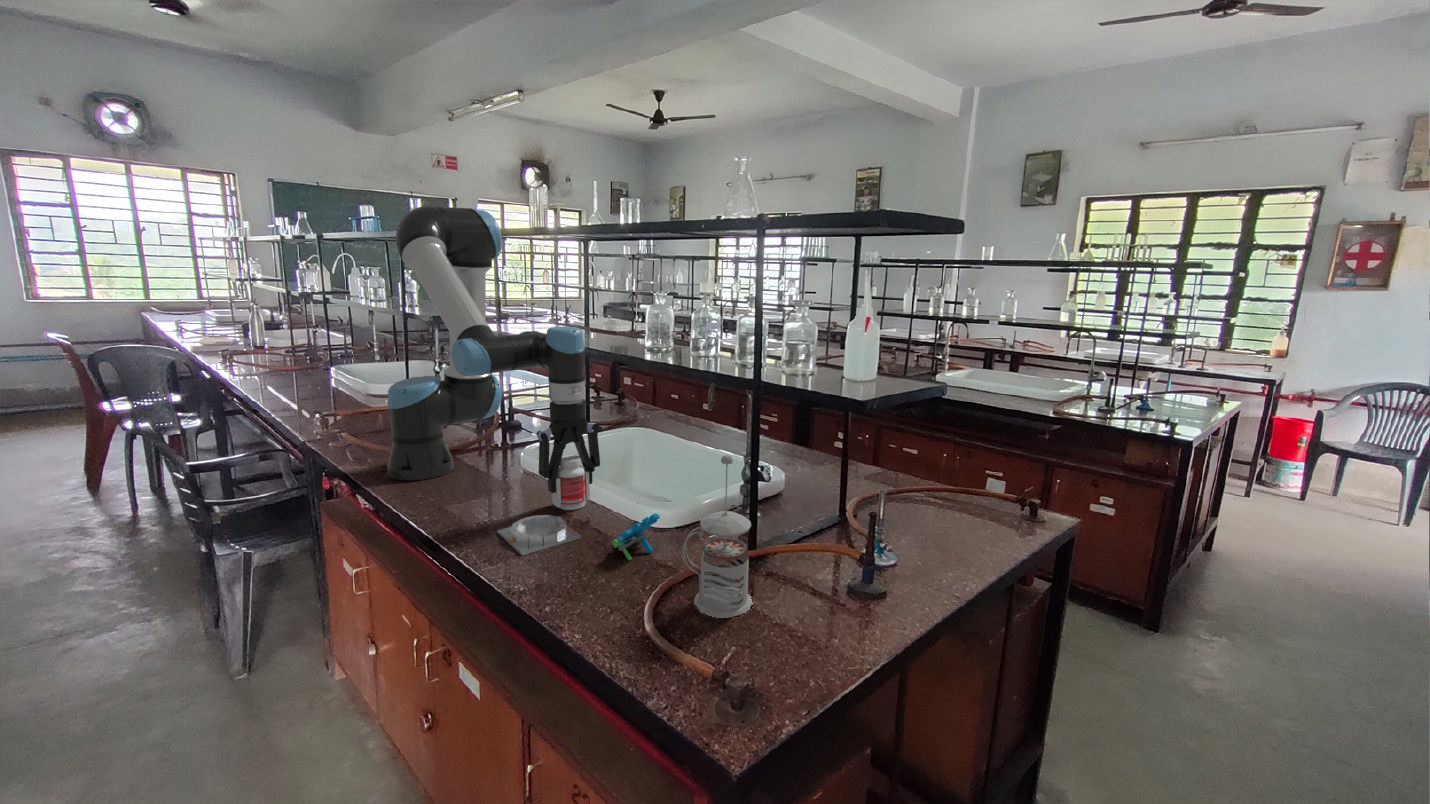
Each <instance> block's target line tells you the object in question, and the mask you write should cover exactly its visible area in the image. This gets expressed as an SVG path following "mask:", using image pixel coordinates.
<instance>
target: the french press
mask: <svg viewBox="0 0 1430 804" xmlns="http://www.w3.org/2000/svg"><path fill="white" fill-rule="evenodd" d="M720 462H721V464H723V465H726V467H725V468H726V469H725V498H724V499H725V502H724V504H725V506H724V507H725V508H724V510H722V511H717V512H712V513H709V514H707V515H705V516H703V517H702V519H700V521H699V523H700V525H699V526H698V527H696V528H694V529H692V530H691V531H690V532H689V533H688V535H687V536H686V538H685V540H684V543H683V545H682V558H683V562H684V564H685V565H686V567H688V568H689V570H690V571H692V572H693V573H694V574H696V575H698V592H697V594H696V595H695V597H694V598H695V599H694V598H693V606H694V605H696V606H697V608H698V609H699V611H700V612H699V611H698V612H699V613H700V614H703V613H705V614H706V615H708V616H707V617H709V616H712V617H711V618H714V617H716V618H715V619H718V618H729V617H733V616H737V615H740V614H741V615H742V613H746V612H747V611H748V610H750V607H751V605H753V603H754V601H753V602H752V599H751V598H753V597H752V596H751V595H750V594H749V592H748V591H749V566H750V565H749V564H750V563H749V562H750V560H749V559H750V558H749V557H750V556H749V553H748V552H747V551H748V545H747V544H746V543H745V542H744V541H742V540H740V539H737V538H733V537H737V536H741V535H743V534H745V533H747V532H748V531H749V530H750V529H751V528H752V523H751V520H750V519H748V517H746V516H744V515H743V514H740V513H737V512H735V511H731V510H730V511H728V510H727V506H728V505H727V504H728V503H727V502H728V466H729V465H731V464H733V463H734V457H732V456H731V455H730V454H724V455H723V456H722V457H721V458H720ZM699 529H701V532H700V531H697V530H699ZM694 531H695V532H694ZM704 531H705V532H706V533H707V534H710V535H712V536H713V535H714V536H719V537H715V538H710V539H709V540H706V541H705V542H704V543H703V544H702V552H701V558H700V566H698V565H697V564H695V563H693V561H692V560H691V559H690V557H689V555H688V551H687V548H688V547H687V543H688V540H689V539H690V538H691V537H692V536H693V535H695V534H699V539H700V540H702V538H703V536H704ZM685 556H686V557H685ZM686 558H687V560H688V562H689V563H690V564H691V565H692V566H694V567H695V568H696V569H698V570H700V573H699V572H698V571H696V570H694V569H692V567H691V566H690V565H689V564H688V562H687V560H686ZM736 559H738V560H739V561H741V562H742V563H740V562H739V561H737V560H736ZM716 560H721V561H717V562H714V561H716ZM724 560H729V561H731V562H732V563H734V564H735V565H736V566H735V565H733V564H731V563H730V562H728V561H724ZM712 562H714V563H712ZM719 566H720V567H719ZM721 566H727V567H721ZM715 574H718V575H717V576H714V575H715ZM742 578H743V579H742ZM736 580H737V581H738V582H737V581H736ZM697 608H696V609H697ZM705 614H704V615H705ZM746 614H747V613H746ZM706 615H705V616H706Z"/></svg>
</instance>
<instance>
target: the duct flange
mask: <svg viewBox="0 0 1430 804" xmlns="http://www.w3.org/2000/svg"><path fill="white" fill-rule="evenodd" d="M497 534H498V535H499V536H500V537H502V539H504V540H505V541H506V542H507V543H508V545H510V546H511V547H512V548H513V549H514V551H516V552H517V553H518V554H519V555H521V557H522V556H526V555H529V554H532V553H537V552H540V551H542V550H546V549H549V548H553V547H557V546H561V545H563V544H566V543H570V542H574V541H576V540H580V539H582V535H581V534H580V533H578V532H577V531H575V530H574V529H573V528H572V527H570V526H569V525H567V521H566V520H565V519H563V517H561V516H557V515H550V514H541V515H537V514H536V515H531V516H527V517H524V518H520V519H518V520H517V521H515V522H514V523H512V525H511V526H509V527H505V528H501V529H498V530H497Z"/></svg>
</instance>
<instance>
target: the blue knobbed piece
mask: <svg viewBox="0 0 1430 804" xmlns="http://www.w3.org/2000/svg"><path fill="white" fill-rule="evenodd" d="M660 518H661V516H660V515H659V514H658V513H652V514H651V515H650V516H647V517H645V518H643V519H642V521H641V522H639V523H638V522H636V523H635V524H633V525H632V526H631V528H630V529H628V530H625V531H624V532H622V533H621V535H620V536H618V537H617V538H614V539H612V540H611V541H610V542H611V543H612V545H613V547H614V548H615V549H616V548H617V549H618V551H619V552H623V554H624V555H625V557H626V559H627V560H628V562H630V561H631V560H633V557H632V556H631V555H630V553H629V551H628V550H627V548H629V547H630V546H632V545H634V544H636V543H637V542H639V541H640V542H641V544H642V546H643V547H644V548H645V550H646V552H647V553H648V554H651V553H652V552H653V551H654V549H653V548H652V546H651V545H650V544H649V542H648V540H647V539H646V536H647V535H646V534H645V532H644V531H647V530H649V529H650V528H651V527H652V526H653V525H654V524H656V523H657V522H658V520H659V519H660ZM634 537H635V538H634ZM633 538H634V539H633Z"/></svg>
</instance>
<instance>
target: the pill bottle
mask: <svg viewBox="0 0 1430 804" xmlns="http://www.w3.org/2000/svg"><path fill="white" fill-rule="evenodd" d="M557 477H558V478H560V486H561V507H559V508H558V509H560V510H562V511H563V510H564V511H576V510H579V509H582V508H583V507H585V505H586V501H587V500H586V498H585V471H584V467H583V465H582V462H581V458H580V457H579V455H576V454H575V455H572V454H569V455H562V458H561V462H560V466H559V470H558V474H557Z"/></svg>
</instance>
